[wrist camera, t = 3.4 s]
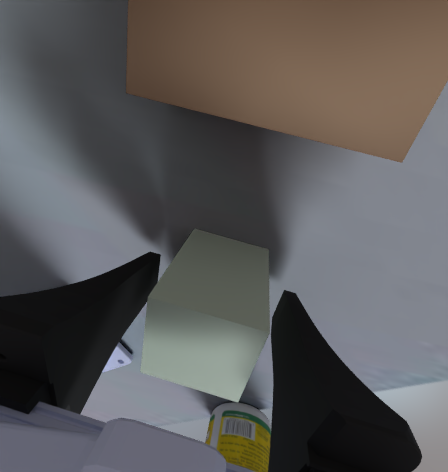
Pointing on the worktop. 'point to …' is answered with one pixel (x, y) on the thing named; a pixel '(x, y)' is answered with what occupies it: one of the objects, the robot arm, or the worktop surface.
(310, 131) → the walnut block
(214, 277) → the sage brick
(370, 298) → the worktop surface
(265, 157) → the worktop surface
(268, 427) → the supplement bottle
